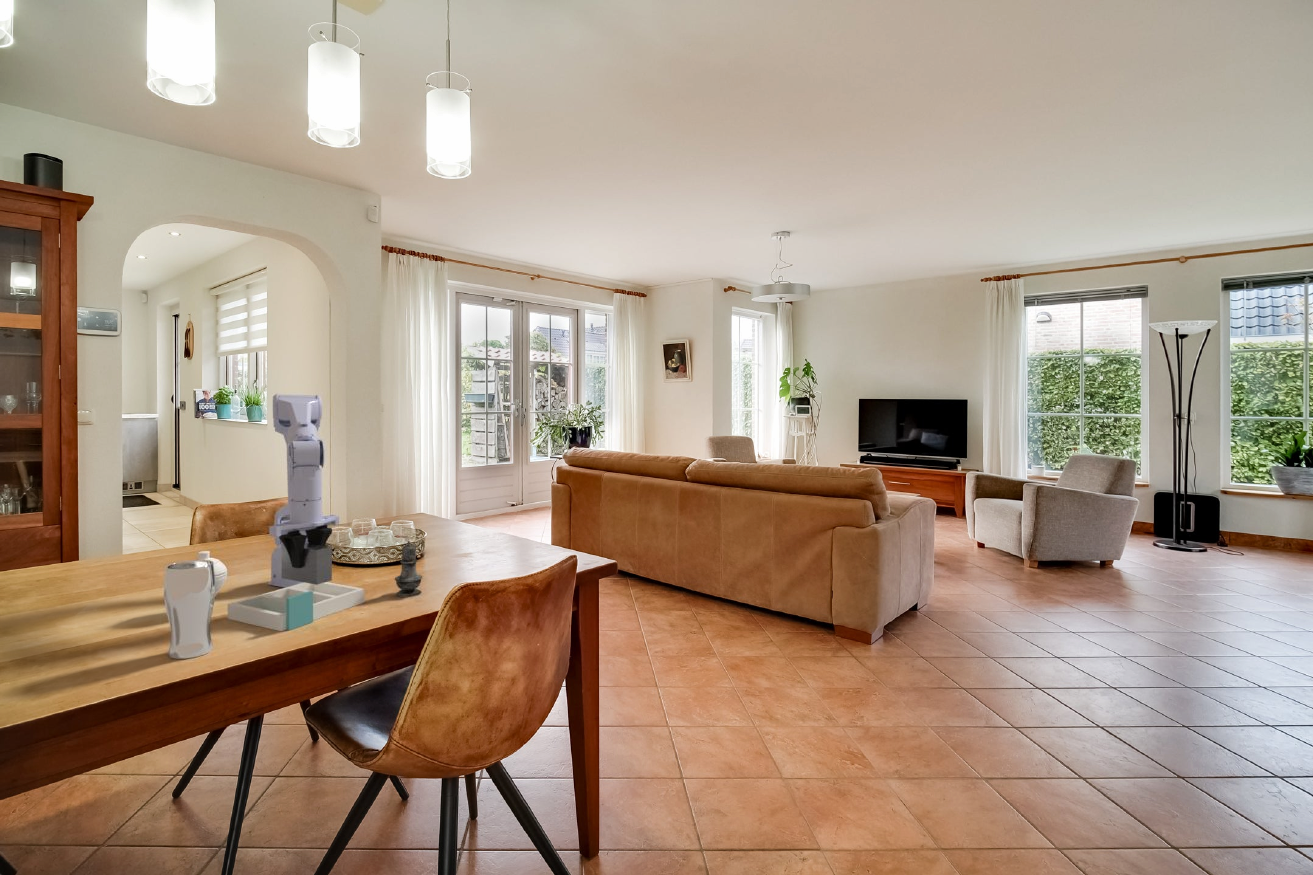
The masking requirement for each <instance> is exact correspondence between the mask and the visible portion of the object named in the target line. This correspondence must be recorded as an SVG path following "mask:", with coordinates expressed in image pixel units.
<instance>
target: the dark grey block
mask: <svg viewBox="0 0 1313 875" xmlns="http://www.w3.org/2000/svg"><path fill="white" fill-rule="evenodd" d="M332 552H333V548H332V546H330V545H325V546H324V545H318V544H311V543H305V545H304V551H303V566H302V568H294V567H292V564H291V561H290V557H289V555H288V552H287V550H286V548H285V546H284V544H282V545H281V564H282V578H283V579H288V580H294V581H299V582H305V583H310V584H315V585H318V584H321V583H325V582H331V581H333V579H332V578H333V576H332V575H333V573H332V572H333V568H332V566H333V563H332V562H333V560H332V559H333V554H332Z"/></svg>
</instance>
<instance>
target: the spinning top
mask: <svg viewBox="0 0 1313 875" xmlns="http://www.w3.org/2000/svg"><path fill="white" fill-rule="evenodd" d="M210 552H211V551H209V550H202V551H199V552H197V556H198V558H197V559H195V560H210V561H213V562H214V572H215V585H216V586H215V597H216V596H217V595H218V593H219V592H220V590H221V589H222V587H223V586H224V584H225V582H226V580H227V578H228V569H227V567H226V565H225V563H223V562H222V561H220V559H217V558H214V557H210V554H211V553H210Z"/></svg>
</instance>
